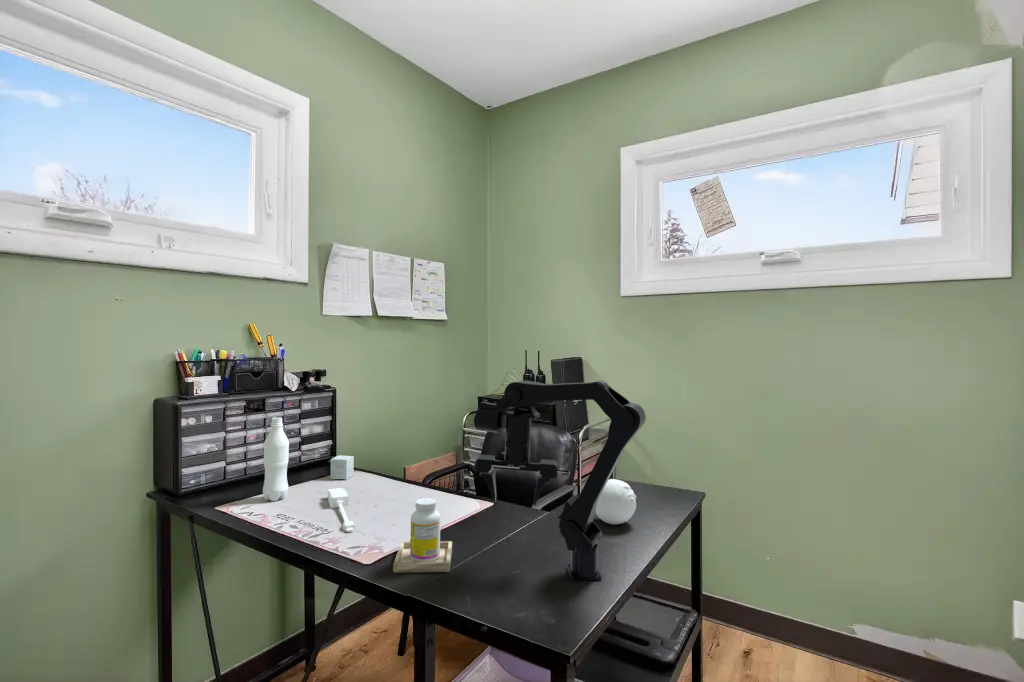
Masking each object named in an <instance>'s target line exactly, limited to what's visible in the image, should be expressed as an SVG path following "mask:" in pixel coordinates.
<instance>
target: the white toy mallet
mask: <svg viewBox="0 0 1024 682" xmlns="http://www.w3.org/2000/svg"><path fill="white" fill-rule="evenodd" d="M327 501H328V505H329V509H337V508H336V507H338V509H339V511H340V514H341V517H342V518H343V523H342V530H343V531H344V532H347V533H349V532H350V533H351V532H353V531H354V530H355V524H354V522H353V520H349V518H348V515H347V513H346V511H345V507H343V506H346V507H349V496H348V493H347V490H346V489H345V488H343V487H337V488H329V489H327Z"/></svg>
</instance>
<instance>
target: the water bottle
mask: <svg viewBox="0 0 1024 682" xmlns="http://www.w3.org/2000/svg"><path fill="white" fill-rule="evenodd" d="M283 426H284V424H283V417H279V416H277V417H276V416H275V417H272V418H271V422H270V427H271V428H270V431H269V433H268V434H267V436H266V438H265V440H264V442H263V466H264V481H263V487H262V495H263V498H264V501H271V502H277V501H278V500H279V499H280V500H284V499H286V497H287V495H288V493H289V482H288V477H287V476H288V475H287V474H288V473H287V472H288V463H289V449H290V448H289V446H290V441H289V439H288V437H287V434H286V433H285V431H284V429H283Z"/></svg>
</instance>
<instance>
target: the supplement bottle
mask: <svg viewBox="0 0 1024 682" xmlns="http://www.w3.org/2000/svg"><path fill="white" fill-rule="evenodd" d="M414 506H415V509H416V510H415V511H414V512H413V513H411V516H410V541H409V542H410V557H411V559H412V560H413V561H415V562H432V561H435V560H436V559H437V558H438V557H439V555H440V541H441V514H440V511H438V510H437V500H436V498H435V499H434V498H431V497H430V498H429V497H425V498H423V497H422V498H419V499H417V500H415V505H414Z"/></svg>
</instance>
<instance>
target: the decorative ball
mask: <svg viewBox="0 0 1024 682" xmlns="http://www.w3.org/2000/svg"><path fill="white" fill-rule="evenodd" d="M636 500H637V495H636V494H635V493H634V490H633V489H632V488H631V486H630V485H629V484H628V483H627V482H625V481H624V480H620V479H615V478H614V479H613V478H611V479H610V478H609V479H608V481H607V483H606V485H605V487H604V489H603V491H602V493H601V495H600V497H599V499H598V501H597V506H596V512H595V514H596V516H597V517H598V518H599V520H601V521H603V522H604V523H607V524H609V525H621V524H625V523H626V522H627V521H629V520H630V519H631V518H632V517H633V516H634V513H635V512H636V509H637V502H636Z"/></svg>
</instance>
